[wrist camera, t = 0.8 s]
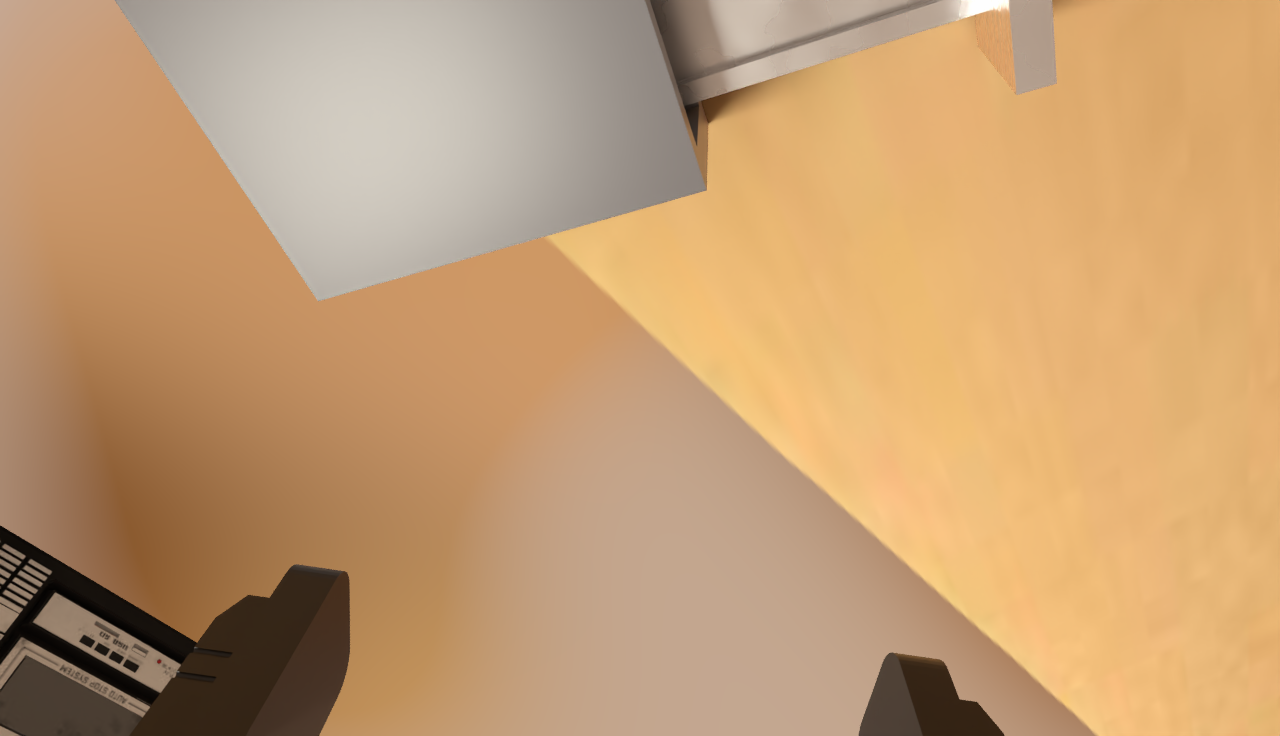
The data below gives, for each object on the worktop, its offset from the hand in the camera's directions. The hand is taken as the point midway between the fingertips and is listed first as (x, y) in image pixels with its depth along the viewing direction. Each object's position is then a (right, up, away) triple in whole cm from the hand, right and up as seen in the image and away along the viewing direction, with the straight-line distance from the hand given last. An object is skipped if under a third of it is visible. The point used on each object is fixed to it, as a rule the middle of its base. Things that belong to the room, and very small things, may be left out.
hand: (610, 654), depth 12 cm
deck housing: (-7, +18, +19) cm, 27 cm away
